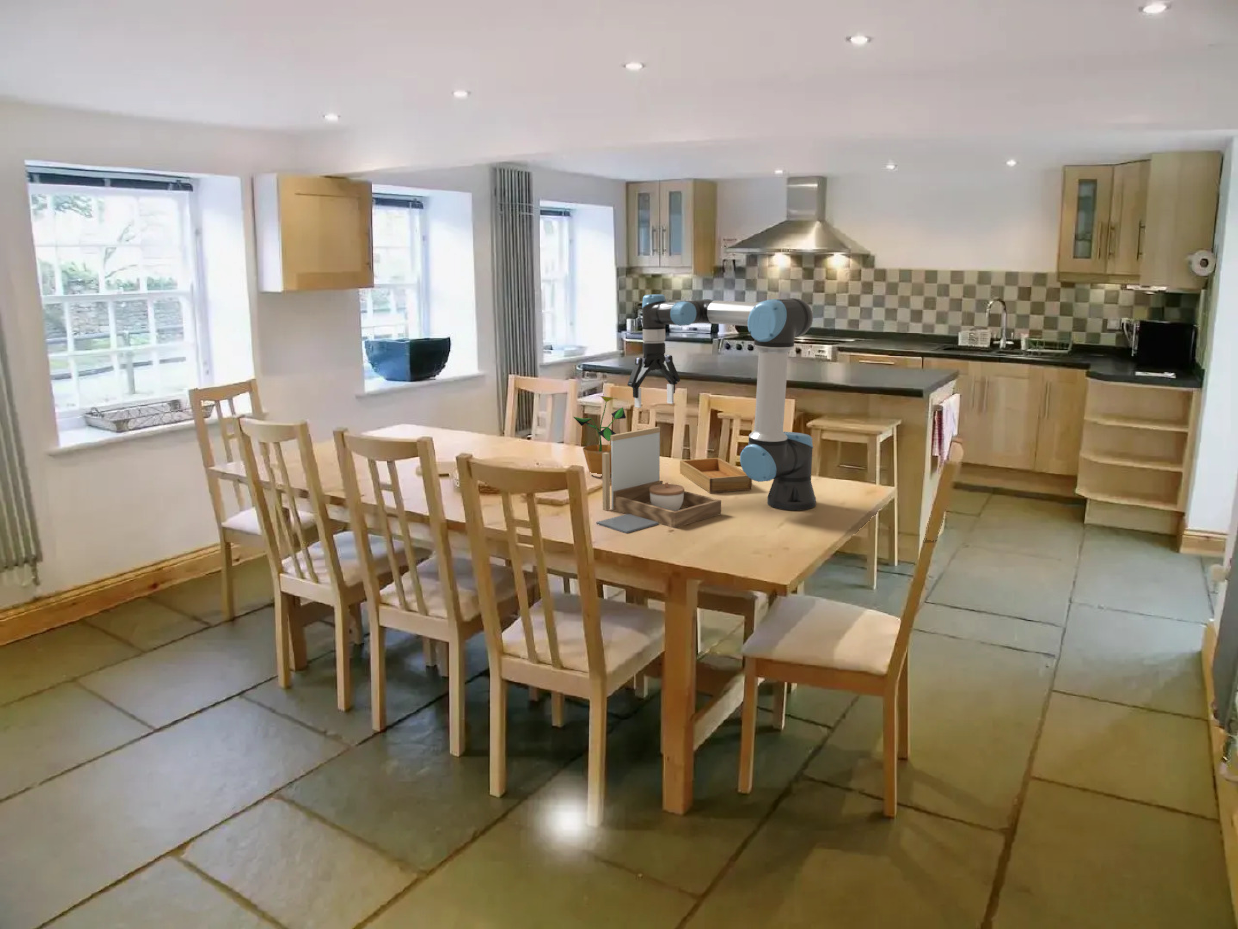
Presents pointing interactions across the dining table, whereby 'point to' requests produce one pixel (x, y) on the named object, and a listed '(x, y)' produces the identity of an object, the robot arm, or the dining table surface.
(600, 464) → the potted plant
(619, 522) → the slate mat
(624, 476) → the white upright flat panel
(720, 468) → the tray
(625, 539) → the dining table surface
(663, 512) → the dark wooden box
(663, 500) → the lidded jar
